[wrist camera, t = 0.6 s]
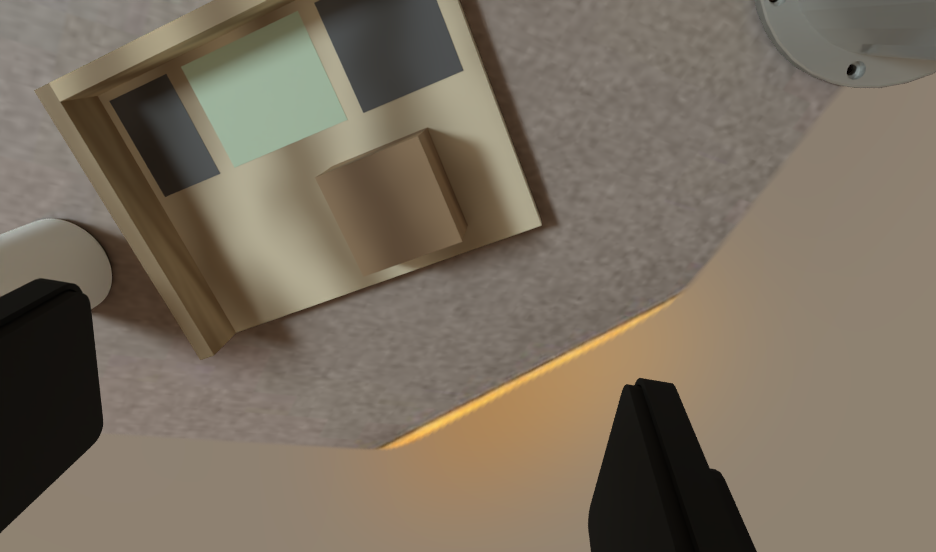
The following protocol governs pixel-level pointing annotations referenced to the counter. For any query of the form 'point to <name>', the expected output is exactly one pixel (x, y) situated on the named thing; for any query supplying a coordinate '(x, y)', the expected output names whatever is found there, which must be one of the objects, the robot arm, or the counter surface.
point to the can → (54, 258)
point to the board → (282, 155)
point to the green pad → (265, 90)
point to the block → (394, 203)
